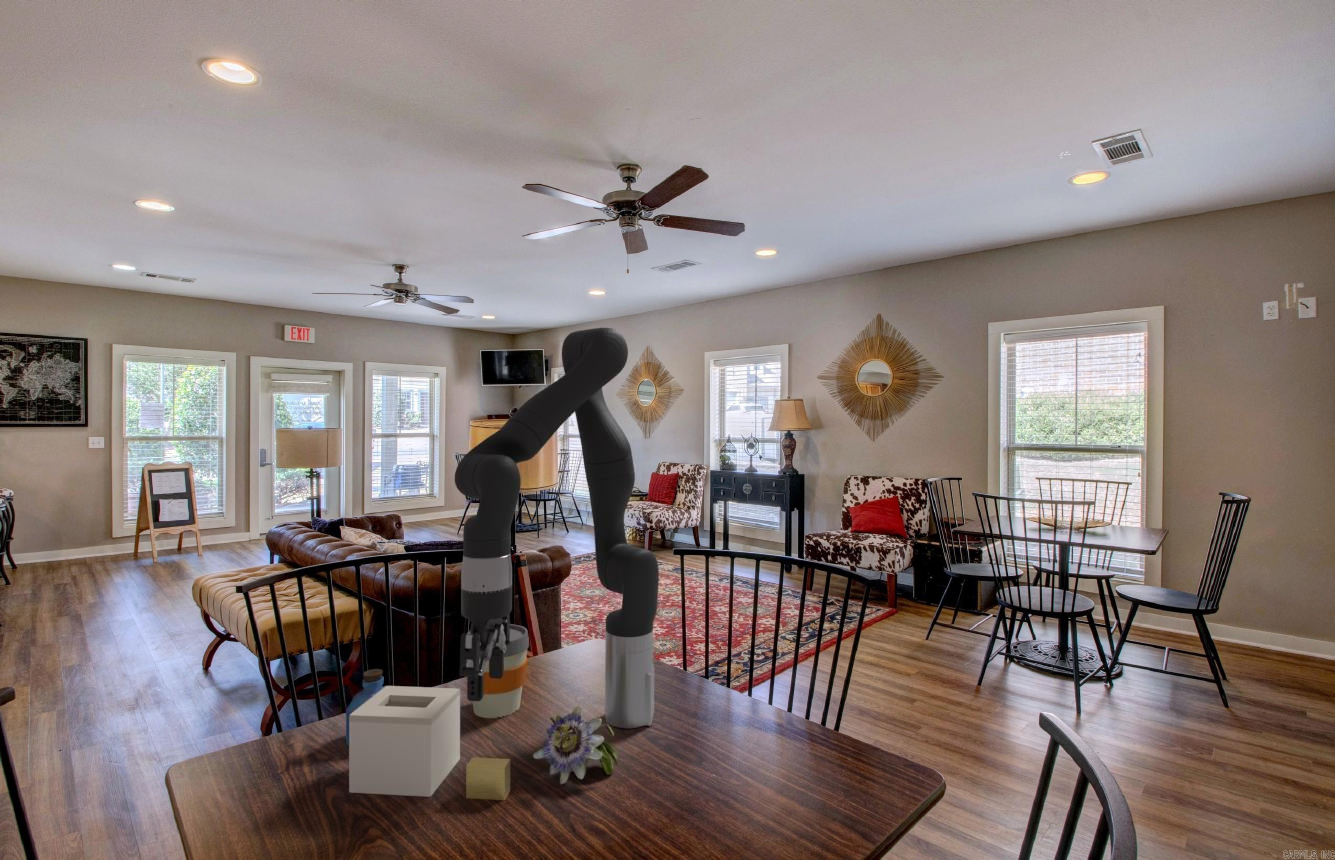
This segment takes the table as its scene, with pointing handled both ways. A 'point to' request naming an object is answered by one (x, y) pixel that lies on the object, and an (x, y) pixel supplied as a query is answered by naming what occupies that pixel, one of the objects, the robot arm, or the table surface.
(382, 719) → the tissue box
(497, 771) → the tan wooden block
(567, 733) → the passion flower
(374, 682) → the perfume bottle
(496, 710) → the reusable coffee cup
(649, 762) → the table surface
